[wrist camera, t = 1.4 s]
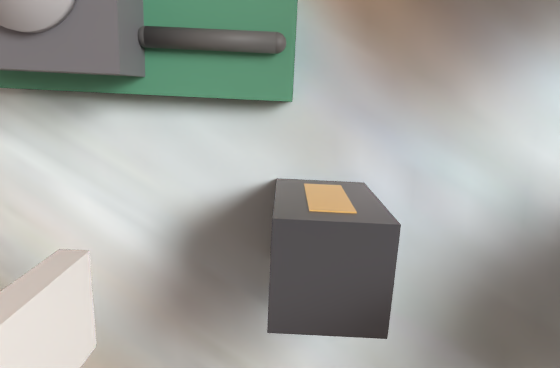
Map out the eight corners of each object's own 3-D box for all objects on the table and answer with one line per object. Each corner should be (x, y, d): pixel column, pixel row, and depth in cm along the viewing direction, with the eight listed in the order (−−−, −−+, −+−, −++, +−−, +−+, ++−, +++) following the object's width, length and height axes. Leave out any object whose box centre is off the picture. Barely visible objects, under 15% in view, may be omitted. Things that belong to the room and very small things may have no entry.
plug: (356, 263, 19) (387, 338, 13) (273, 259, 19) (267, 332, 13) (364, 181, 18) (400, 222, 12) (276, 177, 18) (272, 216, 12)
